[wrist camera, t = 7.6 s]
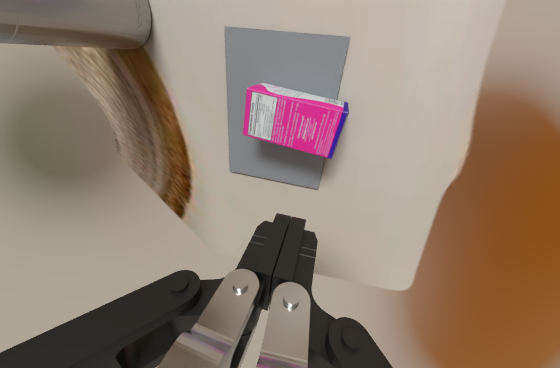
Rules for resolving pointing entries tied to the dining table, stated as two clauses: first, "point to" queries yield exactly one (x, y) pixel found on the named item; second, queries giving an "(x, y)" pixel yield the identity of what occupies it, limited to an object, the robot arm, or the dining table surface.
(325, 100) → the supplement box
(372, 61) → the dining table surface
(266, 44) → the rubber mat
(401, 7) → the dining table surface
